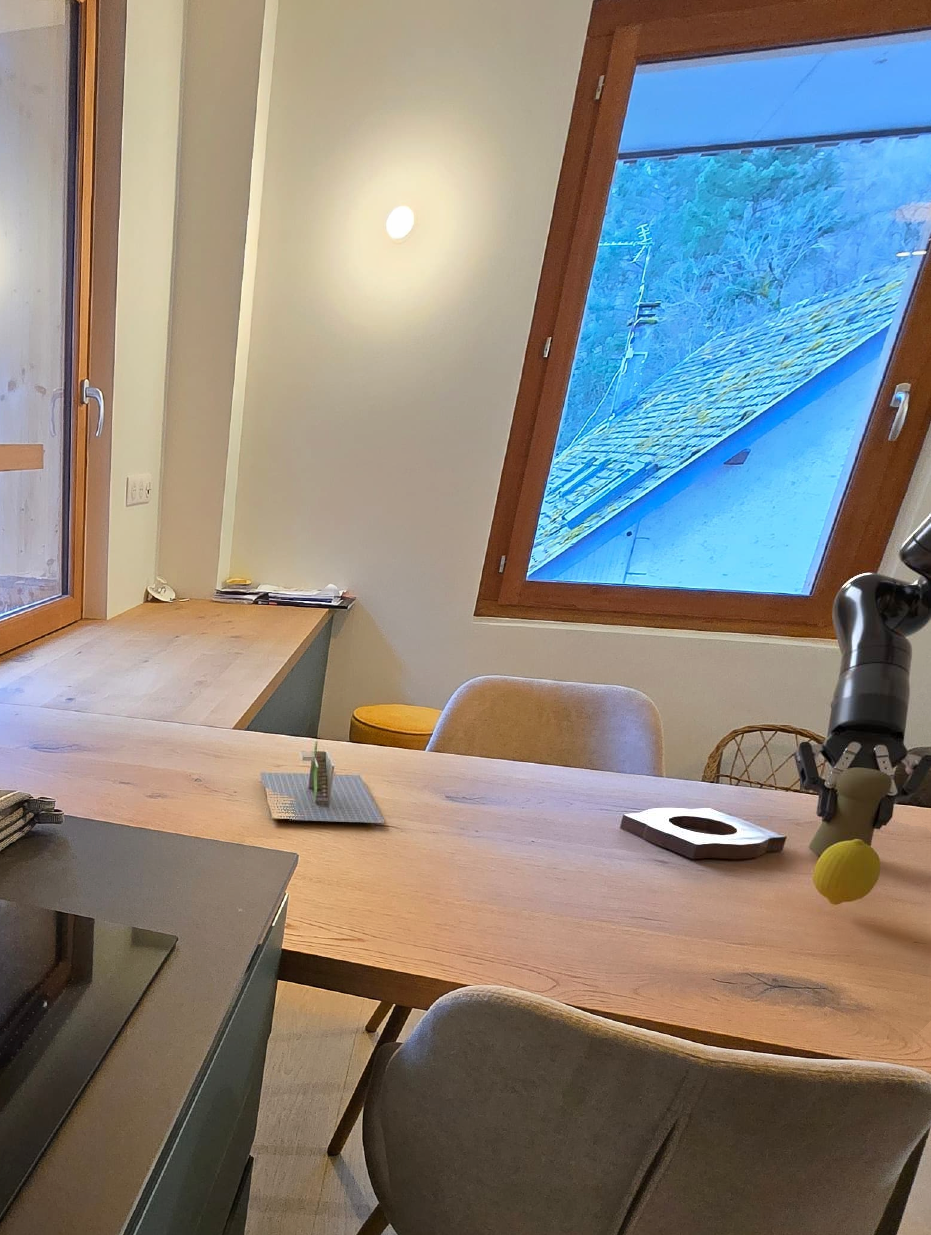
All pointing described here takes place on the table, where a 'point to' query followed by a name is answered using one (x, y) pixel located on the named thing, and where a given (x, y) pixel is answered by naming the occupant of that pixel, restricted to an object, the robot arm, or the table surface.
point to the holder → (728, 843)
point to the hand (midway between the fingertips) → (852, 822)
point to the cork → (853, 808)
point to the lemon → (846, 871)
